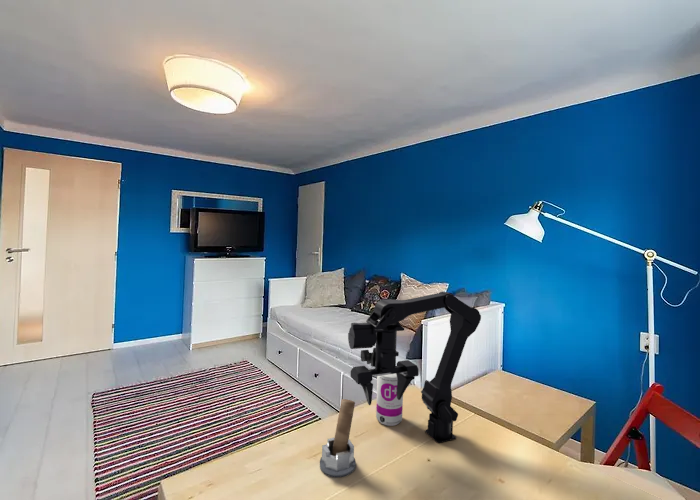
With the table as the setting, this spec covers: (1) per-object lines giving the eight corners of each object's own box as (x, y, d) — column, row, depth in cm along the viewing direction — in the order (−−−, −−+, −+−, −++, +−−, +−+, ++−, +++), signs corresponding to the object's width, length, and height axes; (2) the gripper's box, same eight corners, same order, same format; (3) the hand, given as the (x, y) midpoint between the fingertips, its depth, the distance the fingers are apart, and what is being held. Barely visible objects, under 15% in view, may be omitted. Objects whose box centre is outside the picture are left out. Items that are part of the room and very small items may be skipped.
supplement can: (401, 428, 105) (402, 379, 105) (374, 424, 107) (375, 376, 106) (402, 415, 113) (404, 369, 112) (377, 411, 115) (378, 367, 114)
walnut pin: (339, 455, 90) (349, 399, 92) (347, 461, 87) (357, 403, 89) (328, 456, 88) (338, 399, 90) (336, 463, 85) (347, 403, 87)
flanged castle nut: (347, 451, 93) (347, 432, 93) (361, 472, 85) (361, 452, 85) (315, 458, 90) (315, 439, 89) (326, 481, 81) (326, 460, 81)
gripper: (400, 335, 107) (398, 385, 107) (343, 341, 100) (342, 394, 100) (420, 346, 96) (418, 401, 97) (359, 353, 89) (358, 412, 90)
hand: (384, 401), depth 96 cm, fingers open, 9 cm apart
